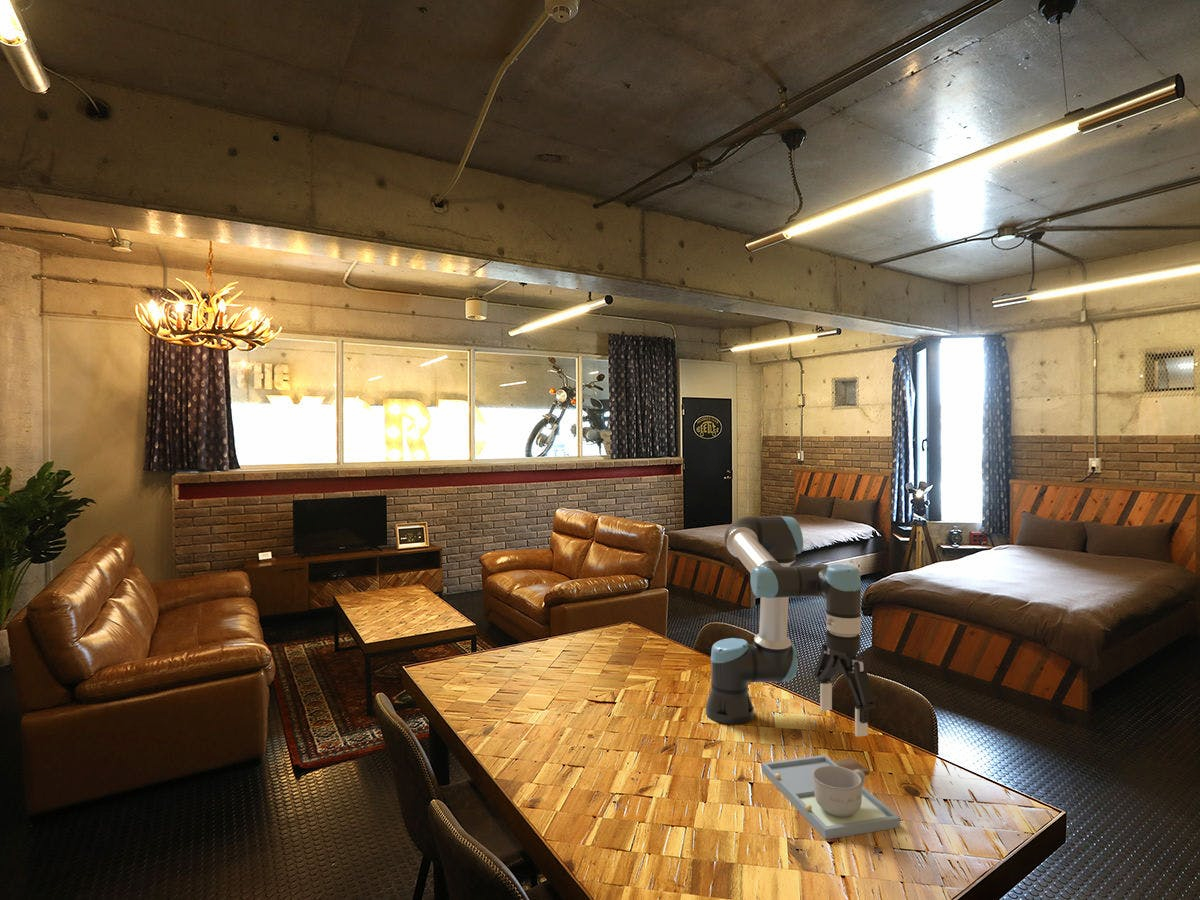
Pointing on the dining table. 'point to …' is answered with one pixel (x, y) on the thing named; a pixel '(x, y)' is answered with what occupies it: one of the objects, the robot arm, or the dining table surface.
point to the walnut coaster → (851, 765)
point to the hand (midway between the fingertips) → (842, 722)
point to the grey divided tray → (799, 790)
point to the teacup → (838, 789)
